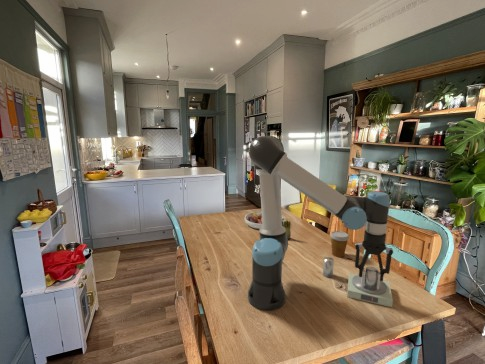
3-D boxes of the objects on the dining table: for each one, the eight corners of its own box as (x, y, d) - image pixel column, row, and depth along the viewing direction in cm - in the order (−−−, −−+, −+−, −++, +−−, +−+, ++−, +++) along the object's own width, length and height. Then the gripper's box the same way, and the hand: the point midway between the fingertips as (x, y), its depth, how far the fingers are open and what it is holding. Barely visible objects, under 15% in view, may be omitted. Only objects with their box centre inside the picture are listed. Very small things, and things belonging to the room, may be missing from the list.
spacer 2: (376, 291, 102) (378, 273, 101) (364, 289, 104) (365, 270, 102) (375, 285, 106) (377, 267, 105) (363, 283, 108) (365, 265, 106)
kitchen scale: (392, 308, 99) (393, 298, 98) (347, 297, 105) (347, 288, 104) (388, 287, 112) (389, 279, 111) (348, 279, 118) (349, 271, 117)
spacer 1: (332, 278, 119) (333, 262, 117) (322, 276, 120) (323, 260, 119) (333, 273, 123) (334, 258, 121) (323, 271, 124) (324, 256, 123)
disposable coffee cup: (350, 254, 142) (351, 233, 140) (343, 260, 135) (344, 239, 133) (333, 249, 148) (334, 229, 146) (325, 254, 142) (327, 234, 139)
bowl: (263, 214, 211) (263, 205, 210) (293, 224, 190) (294, 214, 188) (236, 223, 191) (236, 213, 190) (266, 235, 170) (266, 223, 168)
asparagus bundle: (279, 238, 164) (280, 220, 162) (284, 236, 167) (284, 218, 165) (287, 240, 160) (287, 222, 158) (291, 238, 163) (292, 220, 161)
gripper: (400, 231, 100) (394, 285, 105) (350, 225, 107) (346, 276, 112) (403, 238, 94) (396, 296, 98) (350, 231, 101) (345, 285, 105)
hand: (369, 285), depth 105 cm, fingers open, 5 cm apart
